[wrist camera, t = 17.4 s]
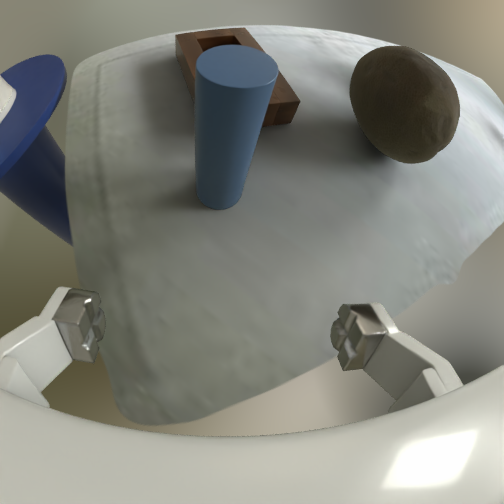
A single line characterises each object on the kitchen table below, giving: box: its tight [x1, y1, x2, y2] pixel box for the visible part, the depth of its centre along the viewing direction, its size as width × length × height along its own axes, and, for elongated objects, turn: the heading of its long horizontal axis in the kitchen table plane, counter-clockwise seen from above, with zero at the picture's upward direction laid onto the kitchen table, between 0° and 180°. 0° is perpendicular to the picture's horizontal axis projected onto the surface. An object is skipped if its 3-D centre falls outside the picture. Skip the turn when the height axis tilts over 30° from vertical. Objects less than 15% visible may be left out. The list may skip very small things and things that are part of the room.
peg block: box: [175, 28, 300, 127], centre depth 29 cm, size 10×18×4 cm, turn 21°
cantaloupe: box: [350, 46, 460, 164], centre depth 25 cm, size 14×14×15 cm
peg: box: [195, 45, 279, 210], centre depth 19 cm, size 4×4×15 cm
